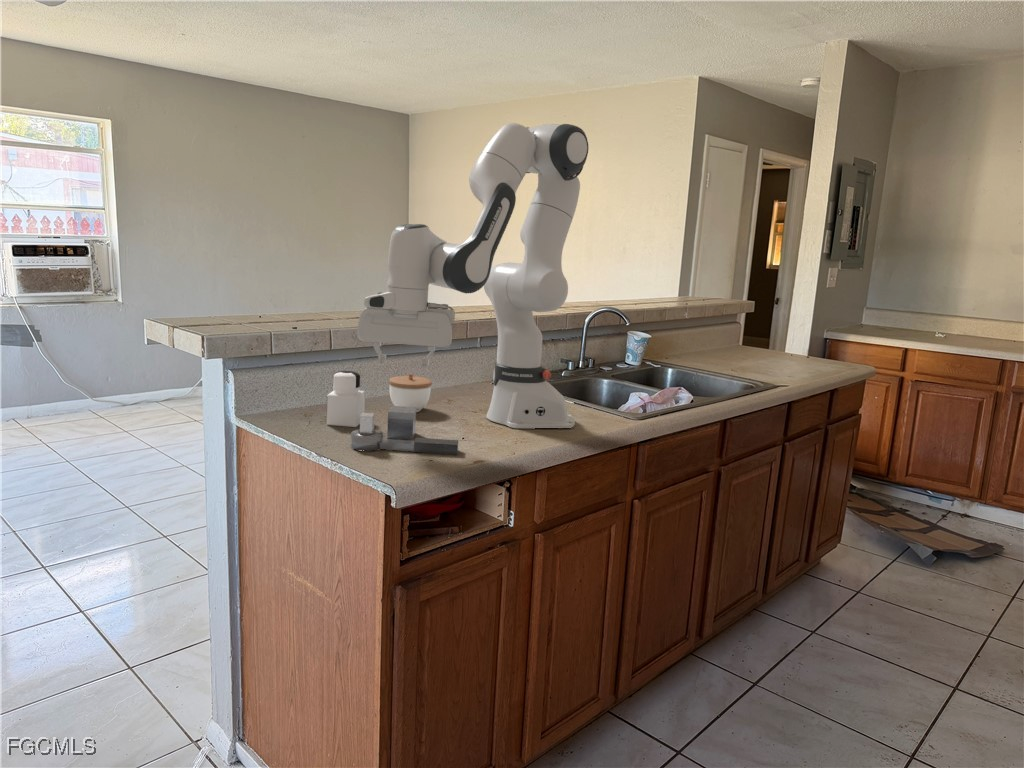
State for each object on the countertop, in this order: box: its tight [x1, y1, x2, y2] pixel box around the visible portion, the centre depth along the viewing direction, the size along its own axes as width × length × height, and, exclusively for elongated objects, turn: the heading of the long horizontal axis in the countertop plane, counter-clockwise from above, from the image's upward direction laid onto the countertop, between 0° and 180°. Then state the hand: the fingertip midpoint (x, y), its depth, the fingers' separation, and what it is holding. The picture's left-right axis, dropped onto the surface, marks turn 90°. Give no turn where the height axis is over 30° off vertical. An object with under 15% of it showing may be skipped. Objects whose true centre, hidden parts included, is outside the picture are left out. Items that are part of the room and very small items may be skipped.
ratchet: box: [350, 412, 459, 456], centre depth 143 cm, size 22×6×7 cm, turn 92°
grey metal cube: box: [386, 405, 417, 441], centre depth 153 cm, size 6×6×6 cm
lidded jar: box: [388, 373, 433, 413], centre depth 176 cm, size 11×11×9 cm
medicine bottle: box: [325, 370, 366, 428], centre depth 159 cm, size 7×7×12 cm
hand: (403, 364), depth 150 cm, fingers open, 8 cm apart
